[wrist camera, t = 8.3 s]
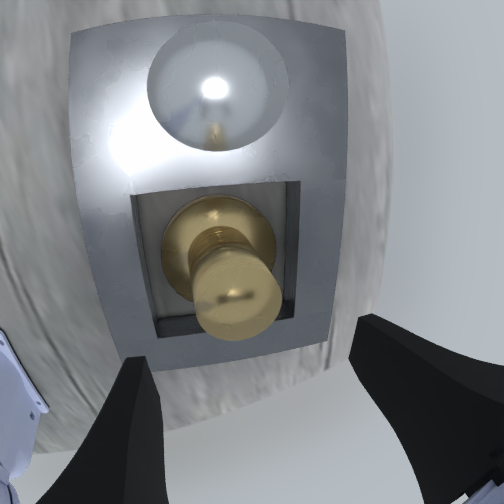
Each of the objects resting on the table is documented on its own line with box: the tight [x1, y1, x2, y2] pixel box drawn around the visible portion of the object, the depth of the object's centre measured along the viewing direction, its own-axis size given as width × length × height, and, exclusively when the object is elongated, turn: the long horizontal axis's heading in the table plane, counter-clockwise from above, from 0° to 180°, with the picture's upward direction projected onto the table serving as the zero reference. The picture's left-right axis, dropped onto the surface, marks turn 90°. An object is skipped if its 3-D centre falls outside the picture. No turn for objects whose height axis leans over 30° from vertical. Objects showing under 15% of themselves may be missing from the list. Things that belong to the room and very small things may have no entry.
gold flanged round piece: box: [161, 194, 282, 341], centre depth 15 cm, size 6×6×6 cm
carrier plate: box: [68, 14, 348, 372], centre depth 15 cm, size 20×14×4 cm
